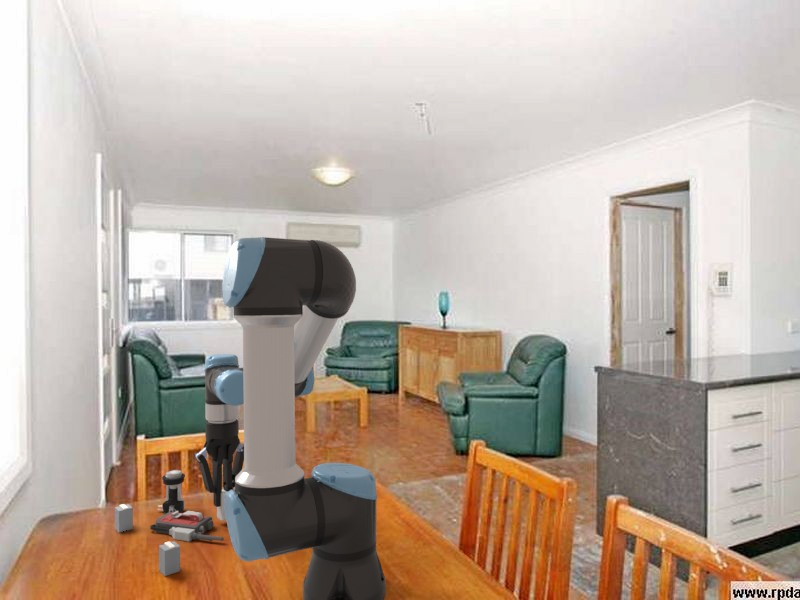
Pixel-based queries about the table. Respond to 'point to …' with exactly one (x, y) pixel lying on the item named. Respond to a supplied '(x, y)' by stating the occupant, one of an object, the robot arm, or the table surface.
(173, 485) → the push button
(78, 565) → the table surface
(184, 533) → the walkie-talkie
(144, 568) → the table surface
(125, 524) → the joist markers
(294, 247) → the robot arm
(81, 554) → the table surface
